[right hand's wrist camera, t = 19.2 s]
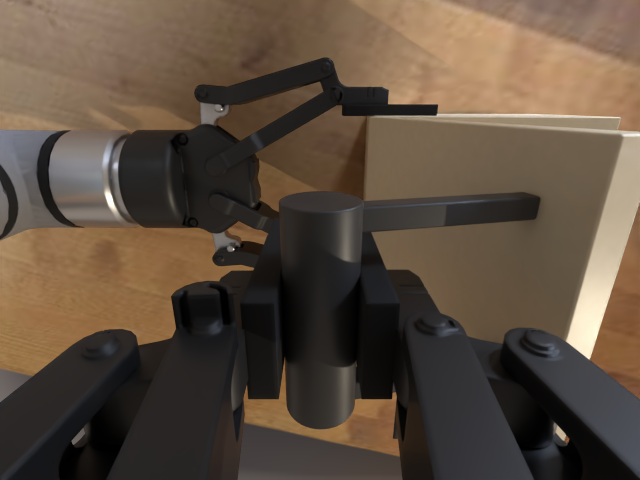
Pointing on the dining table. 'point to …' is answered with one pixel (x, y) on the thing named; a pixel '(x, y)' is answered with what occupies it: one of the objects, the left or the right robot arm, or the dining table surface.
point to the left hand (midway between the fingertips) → (424, 180)
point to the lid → (457, 241)
